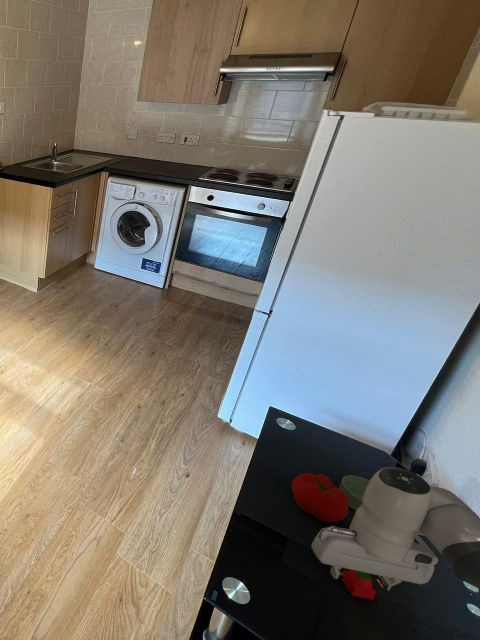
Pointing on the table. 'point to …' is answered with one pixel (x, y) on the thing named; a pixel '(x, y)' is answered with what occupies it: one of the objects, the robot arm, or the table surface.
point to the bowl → (353, 489)
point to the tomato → (320, 497)
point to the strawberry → (359, 584)
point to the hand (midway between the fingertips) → (358, 581)
